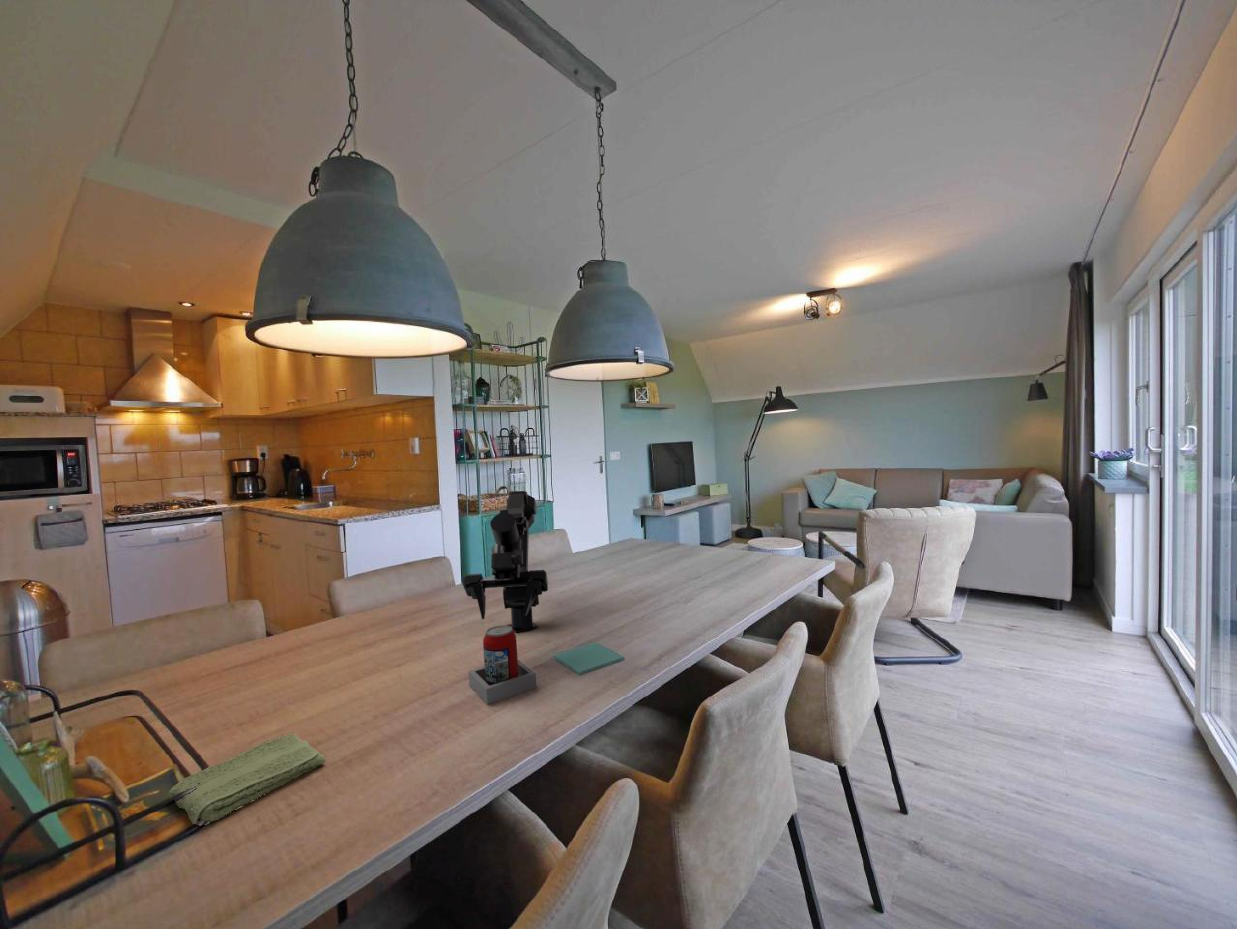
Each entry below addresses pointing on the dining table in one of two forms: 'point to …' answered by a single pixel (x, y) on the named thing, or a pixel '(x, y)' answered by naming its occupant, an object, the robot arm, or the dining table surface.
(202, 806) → the washcloth
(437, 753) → the dining table surface
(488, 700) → the can holder
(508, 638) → the beverage can
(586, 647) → the teal mat
